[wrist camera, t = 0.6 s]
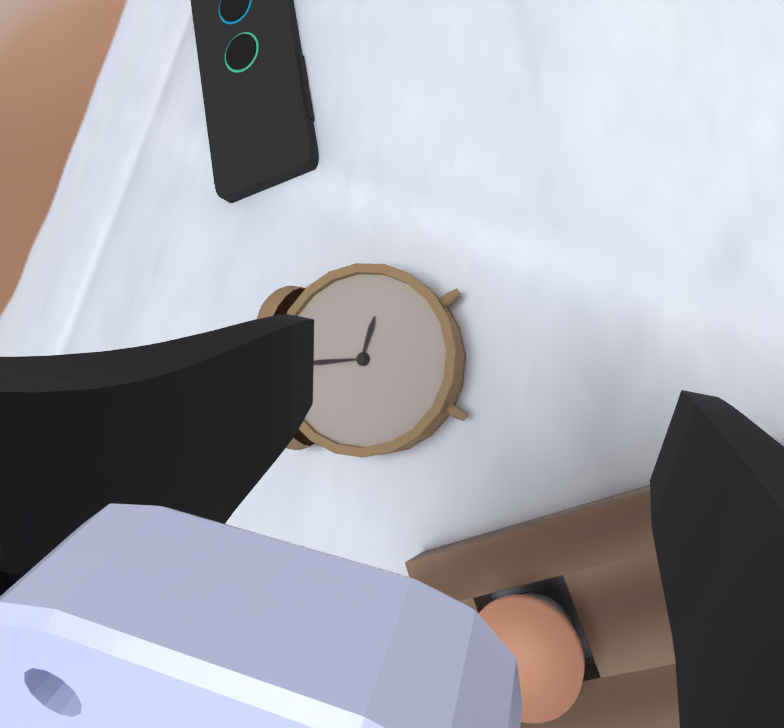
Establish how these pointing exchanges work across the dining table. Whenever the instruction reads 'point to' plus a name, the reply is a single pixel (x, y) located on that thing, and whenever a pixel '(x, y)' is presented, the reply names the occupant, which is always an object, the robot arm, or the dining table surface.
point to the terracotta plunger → (539, 652)
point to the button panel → (583, 601)
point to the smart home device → (254, 94)
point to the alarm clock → (376, 359)
